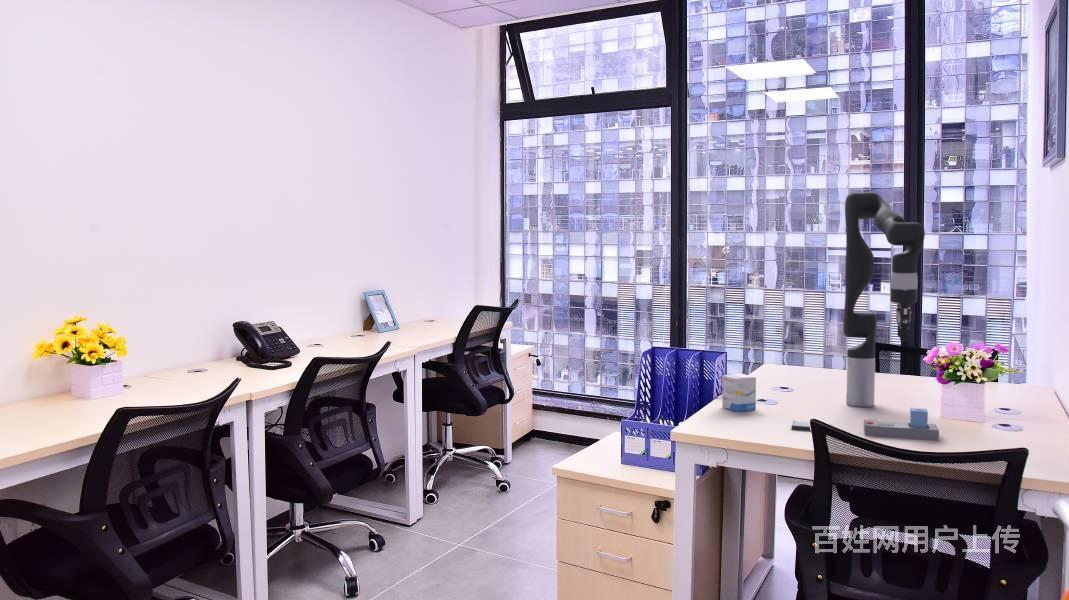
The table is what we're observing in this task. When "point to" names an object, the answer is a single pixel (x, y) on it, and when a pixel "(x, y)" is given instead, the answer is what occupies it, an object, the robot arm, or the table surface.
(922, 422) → the block
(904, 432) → the power strip
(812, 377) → the table surface
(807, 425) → the phone slab
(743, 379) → the ink box
